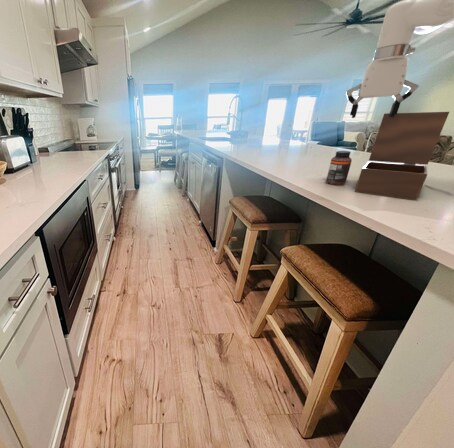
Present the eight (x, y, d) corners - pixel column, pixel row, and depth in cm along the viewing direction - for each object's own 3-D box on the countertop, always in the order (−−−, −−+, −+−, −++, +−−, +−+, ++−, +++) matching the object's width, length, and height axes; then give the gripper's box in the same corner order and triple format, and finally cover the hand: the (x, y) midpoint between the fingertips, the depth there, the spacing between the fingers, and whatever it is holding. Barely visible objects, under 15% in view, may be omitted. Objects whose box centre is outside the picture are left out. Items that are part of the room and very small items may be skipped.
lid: (449, 111, 69) (449, 111, 70) (384, 113, 79) (384, 113, 79) (427, 164, 75) (427, 164, 75) (368, 160, 84) (368, 160, 84)
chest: (416, 200, 69) (427, 174, 66) (354, 191, 78) (361, 168, 75) (417, 189, 78) (427, 165, 75) (361, 182, 87) (368, 161, 84)
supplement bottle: (339, 181, 91) (347, 150, 86) (349, 185, 85) (358, 152, 80) (322, 181, 91) (329, 150, 86) (331, 185, 86) (339, 152, 81)
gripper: (426, 52, 71) (404, 115, 78) (352, 61, 79) (338, 117, 86) (435, 47, 65) (410, 116, 72) (354, 57, 74) (339, 118, 81)
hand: (371, 117), depth 79 cm, fingers open, 9 cm apart
